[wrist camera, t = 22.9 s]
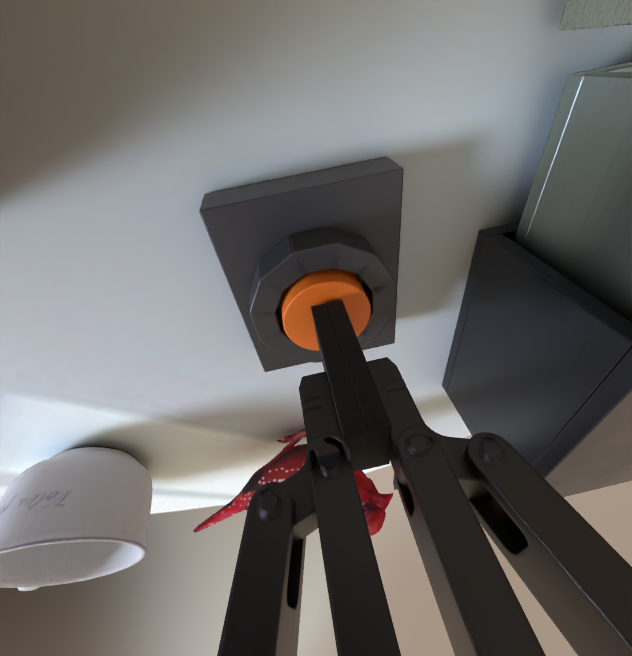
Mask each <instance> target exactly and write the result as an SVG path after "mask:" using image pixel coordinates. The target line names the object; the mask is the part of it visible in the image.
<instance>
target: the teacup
mask: <svg viewBox="0 0 632 656" xmlns="http://www.w3.org/2000/svg"><path fill="white" fill-rule="evenodd" d="M151 501H152V480H151V477H150V475H149V473H148V471H147V470H146V469H145V467H143V466H142V465H141V464H140V463H138V462H137V461H136V459H135V458H133V457H132V456H130V455H129V454H127V453H125V452H122V451H119V450H115V449H110V448H102V447H85V448H77V449H72V450H68V451H65V452H62V453H59V454H57V455H54V456H53V457H51V458H49V459H47V460H44V461H42V462H39V463H37V464H35V465H33V466H32V467H30V468H28V469H27V470H25V471H24V472H23V473H22V474H20V475H19V476H18V477H17V478H16V479H15V480H14V481H13V482H12V483H11V485H10V486H9V487H8V489H7V490H6V492H5V493H4V495H3V496H2V498H1V500H0V587H1V588H16V587H17V588H18V589H19V590H20V591H28V590H34V589H36V588H38V587H40V586H48V585H57V584H67V583H71V582H77V581H84V580H88V579H93V578H96V577H99V576H104V575H108V574H111V573H114V572H117V571H120V570H122V569H125V568H127V567H130V566H132V565H134V564H136V563H137V562H139V561H140V560H141V559H142V558H143V557H144V556H145V554H146V546H145V543H146V536H147V529H148V524H149V517H150V509H151Z"/></svg>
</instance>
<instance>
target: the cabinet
mask: <svg viewBox="0 0 632 656" xmlns="http://www.w3.org/2000/svg"><path fill="white" fill-rule="evenodd" d="M519 223H520V222H517V223H513V224H508V225H503V226H499V227H494V228H489V229H485V230H480V231H479V235H478V239H477V243H476V247H475V251H474V255H473V259H472V264H471V268H470V272H469V276H468V280H467V284H466V288H465V293H464V297H463V301H462V305H461V309H460V313H459V317H458V322H457V326H456V330H455V334H454V338H453V342H452V346H451V351H450V355H449V359H448V363H447V367H446V371H445V375H444V380H443V384H442V386H443V388H444V389H445V391H446V393H447V394H448V396H449V398H450V399H451V401H452V403H453V404H454V406H455V408H456V409H457V411H458V413H459V414H460V416H461V418H462V419H463V421H464V423H465V424H466V426H467V428H468V430H469V431H470V433H471V435H472V436H474V435H475V434H477V433H481V432H488V433H493V434H496V435H498V436H501V437H502V438H503V439H505V440H506V441H507V442H509V443H510V444H511V445H512V446H513V447H514V448H515V449H516V450H517V451H518V452H519V453H520V454H521V455H522V456H523V457H524V458H525V459H526V460H527V461H528V462H529V464H530V465H531V466H532V467H533V468H534V469H535V470H536V471H537V472H538V473H539V474H540V475H541V476H542V477H543V478H544V479H545V480H546V481H547V482H548V483H549V484H550V485H551V486H552V487H553V488H554V489H555V490H556V491H557V492H558V493H559V494H560V495H561V496H562V497H566V496H569V495H574V494H578V493H582V492H586V491H590V490H594V489H599V488H603V487H607V486H611V485H615V484H619V483H623V482H628V481H632V323H631V322H630V321H628V320H627V319H625V318H624V317H623V316H621V315H620V314H618V313H617V312H615V311H614V310H612V309H611V308H609V307H608V306H607V305H605V304H604V303H602V302H601V301H599V300H598V299H596V298H595V297H593V296H592V295H590V294H589V293H588V292H586V291H585V290H583V289H582V288H580V287H579V286H577V285H576V284H574V283H573V282H571V281H570V280H569V279H567V278H566V277H564V276H563V275H561V274H560V273H558V272H557V271H555V270H554V269H553V268H551V267H550V266H548V265H547V264H545V263H544V262H542V261H541V260H539V259H538V258H536V257H535V256H534V255H532V254H531V253H529V252H528V251H526V250H525V249H523V248H522V247H520V246H519V245H517V244H516V243H515V242H514V239H515V236H516V233H517V230H518V226H519Z"/></svg>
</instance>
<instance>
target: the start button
mask: <svg viewBox="0 0 632 656" xmlns="http://www.w3.org/2000/svg"><path fill="white" fill-rule="evenodd" d="M338 300H343V303H344V306H345V308H346V311H347V313H348V316H349V318H350V321H351V323H352V326H353V329H354V331H355V334H356V336H359V335H360V333H361V332H362V331H363V330H364V329H365V327H366V325H367V323H368V321H369V318H370V311H371V308H370V303H369V300H368V298H367V296H366V294H365V292H364V290H363V288H362V286H361V284H360V282H359V280H358V278H357V277H356V275H355V274H354V273H351V272H347V271H343V270H340V269H336V268H331V269H326V270H321V271H317V272H312V273H307V274H304V275H303V276H302V277H300V278H299V279H298V280H297V281H295V282H294V283H293V284H292V285H290V286H289V287H288V288H286V289H285V290H284V291H283V293H282V296H281V299H280V304H281V312H282V320H283V326H284V330H285V332H286V334H287V336H288V337H289V338H290V339H291V340H292V341H293V342H294V343H295V344H297V345H299V346H301V347H303V348H306V349H310V350H317V351H320V350H319V346H318V341H317V336H316V331H315V326H314V321H313V316H312V311H311V306H315V305H319V304H324V303H328V302H333V301H338Z"/></svg>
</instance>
